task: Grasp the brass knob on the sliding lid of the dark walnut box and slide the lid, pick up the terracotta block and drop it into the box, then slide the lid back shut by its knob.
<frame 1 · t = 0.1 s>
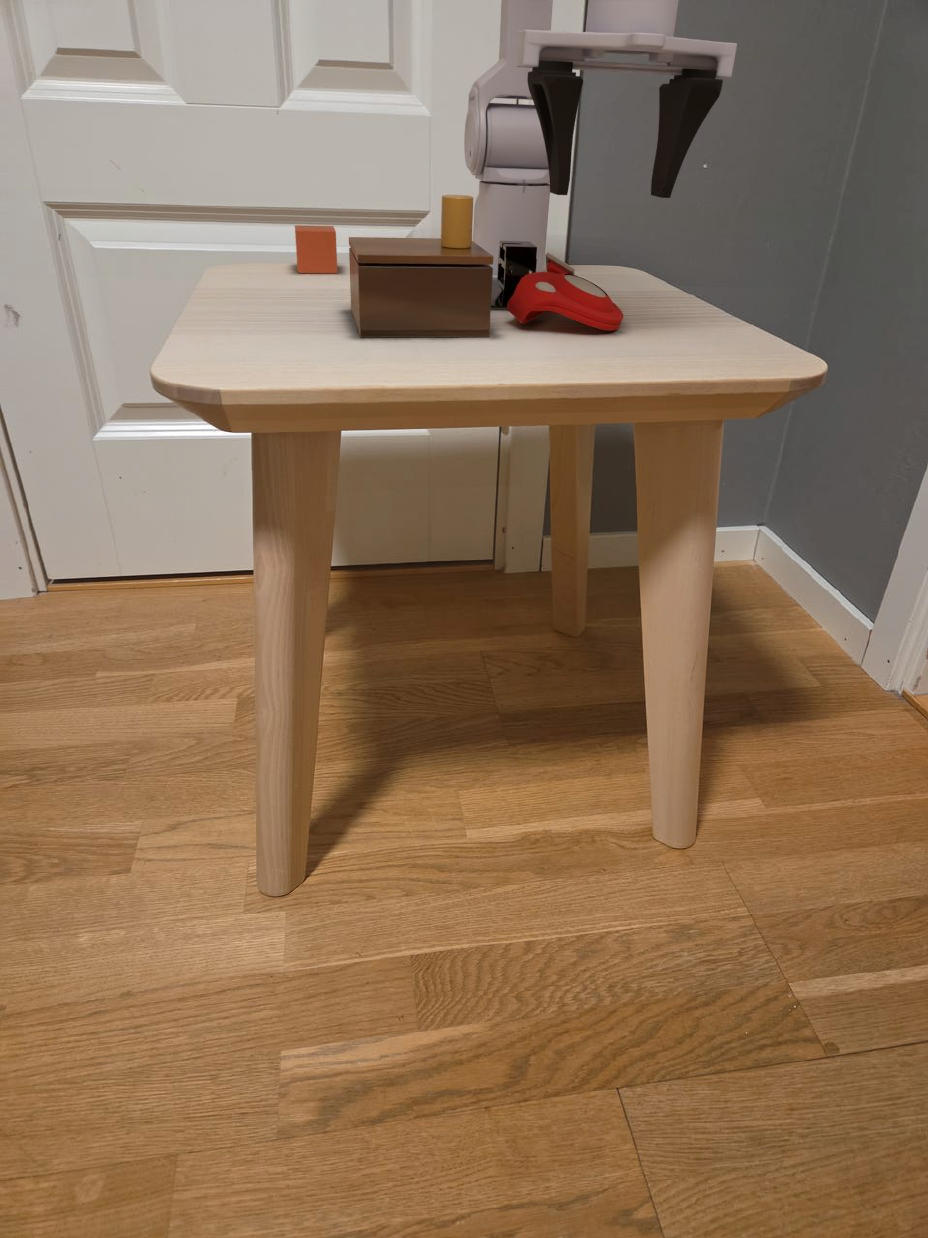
hand: (610, 195, 58), 10 cm above the table, tool pointing down, fingers open, 7 cm apart
terracotta block: (317, 269, 86), on the table
black rack: (514, 297, 78), on the table, touching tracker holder
slide lid: (418, 225, 62), point 7 cm above the table, slide at 0.0 cm
walnut box: (417, 323, 66), on the table
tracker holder: (566, 318, 70), on the table, touching black rack
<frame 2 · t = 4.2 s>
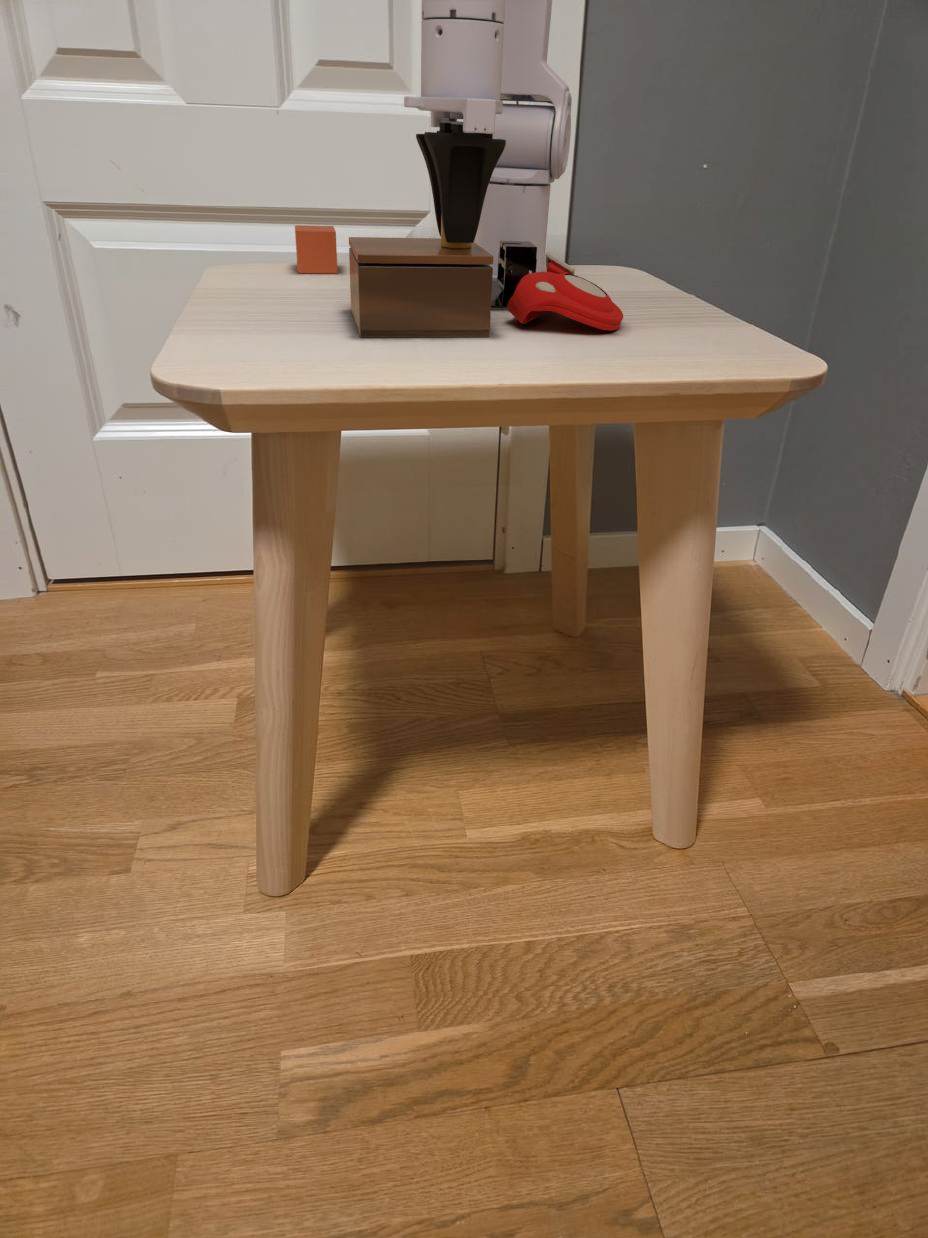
hand: (456, 239, 63), 6 cm above the table, tool pointing down, fingers closed on slide lid, 2 cm apart
slide lid: (418, 225, 62), point 7 cm above the table, slide at 0.0 cm, touching gripper
everything else where it was.
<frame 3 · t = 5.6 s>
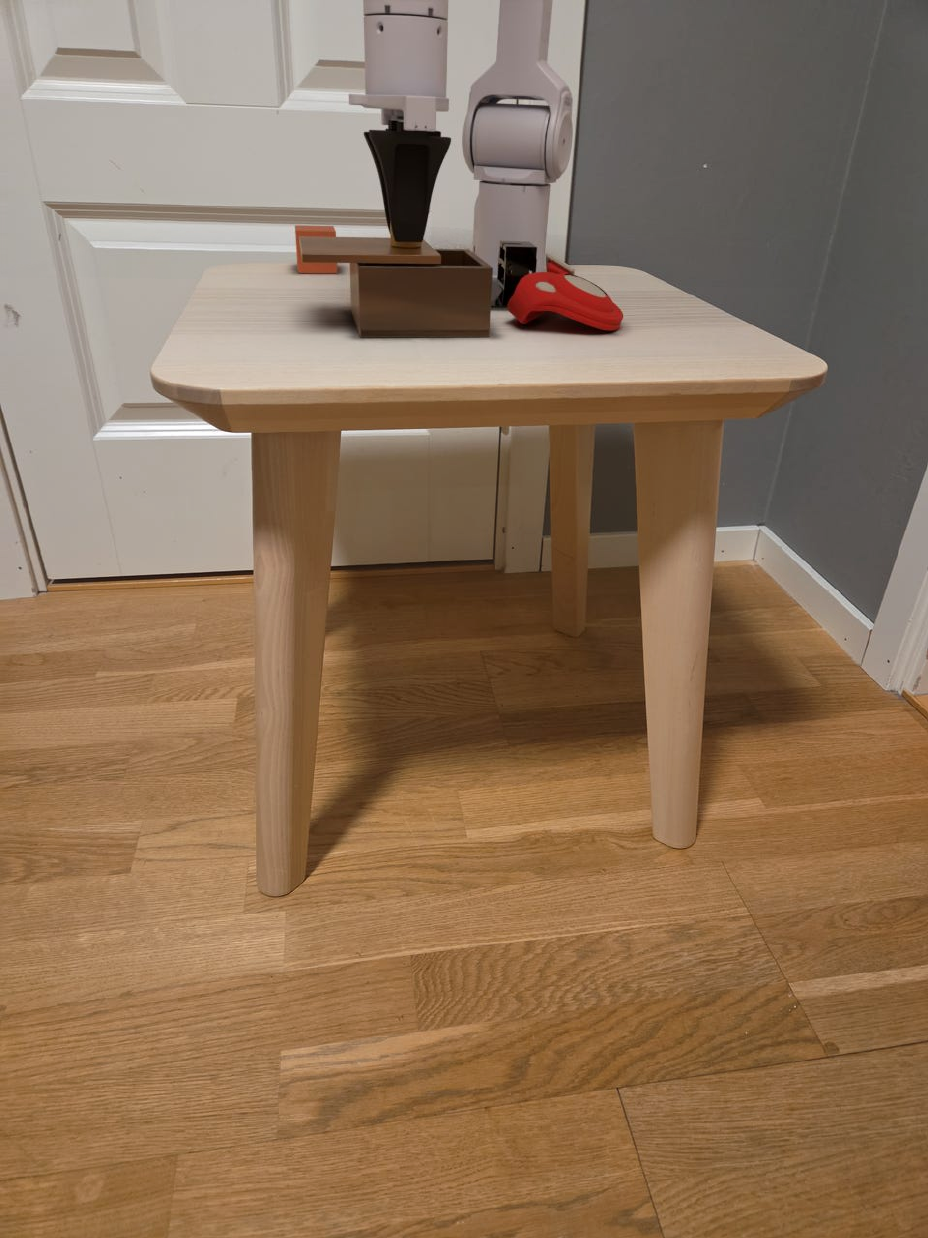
hand: (405, 238, 63), 6 cm above the table, tool pointing down, fingers closed on slide lid, 2 cm apart
slide lid: (366, 224, 62), point 7 cm above the table, slide at 3.9 cm, touching gripper
everything else where it was.
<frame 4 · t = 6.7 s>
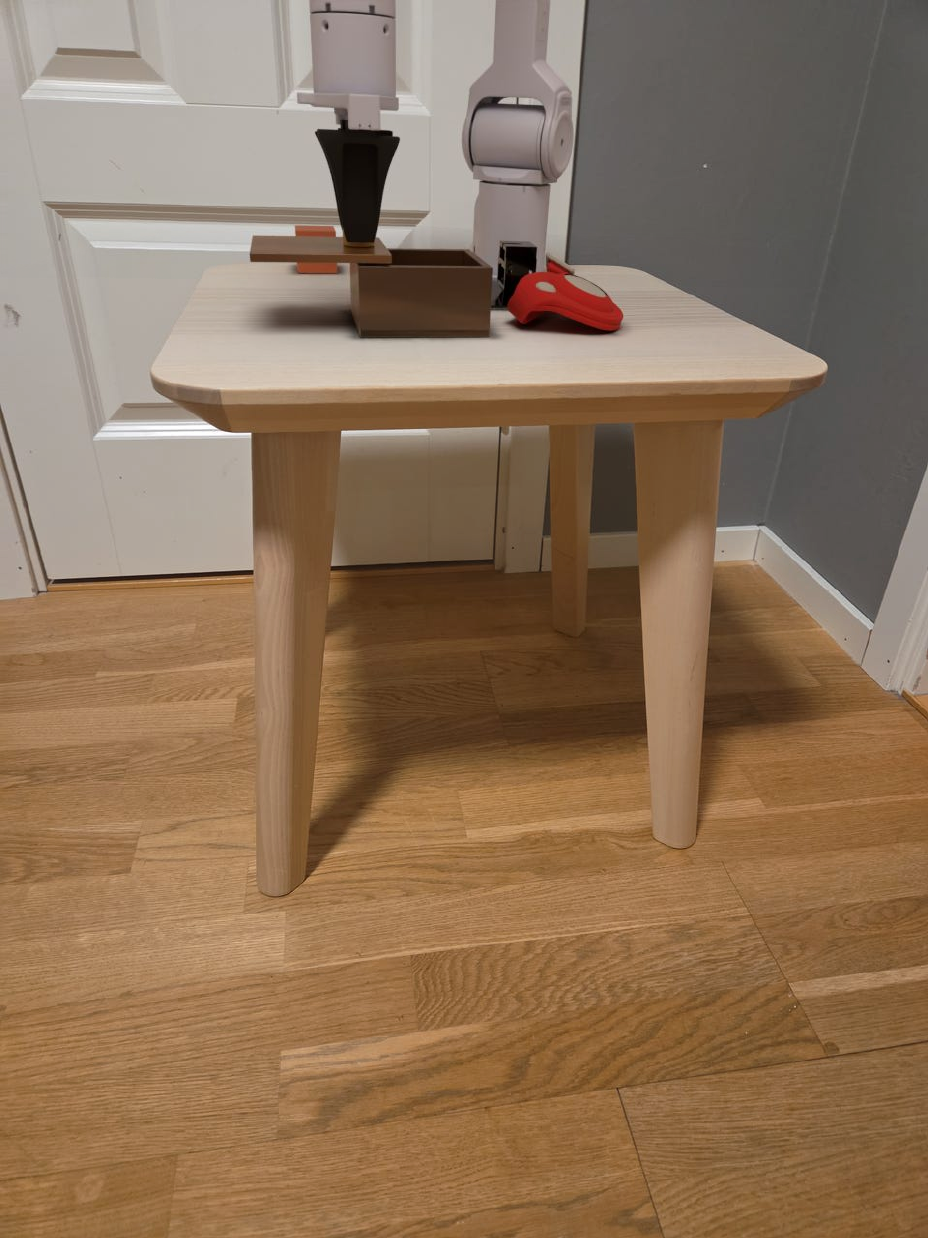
hand: (358, 238, 62), 6 cm above the table, tool pointing down, fingers closed on slide lid, 2 cm apart
slide lid: (318, 223, 61), point 7 cm above the table, slide at 7.5 cm, touching gripper
everything else where it was.
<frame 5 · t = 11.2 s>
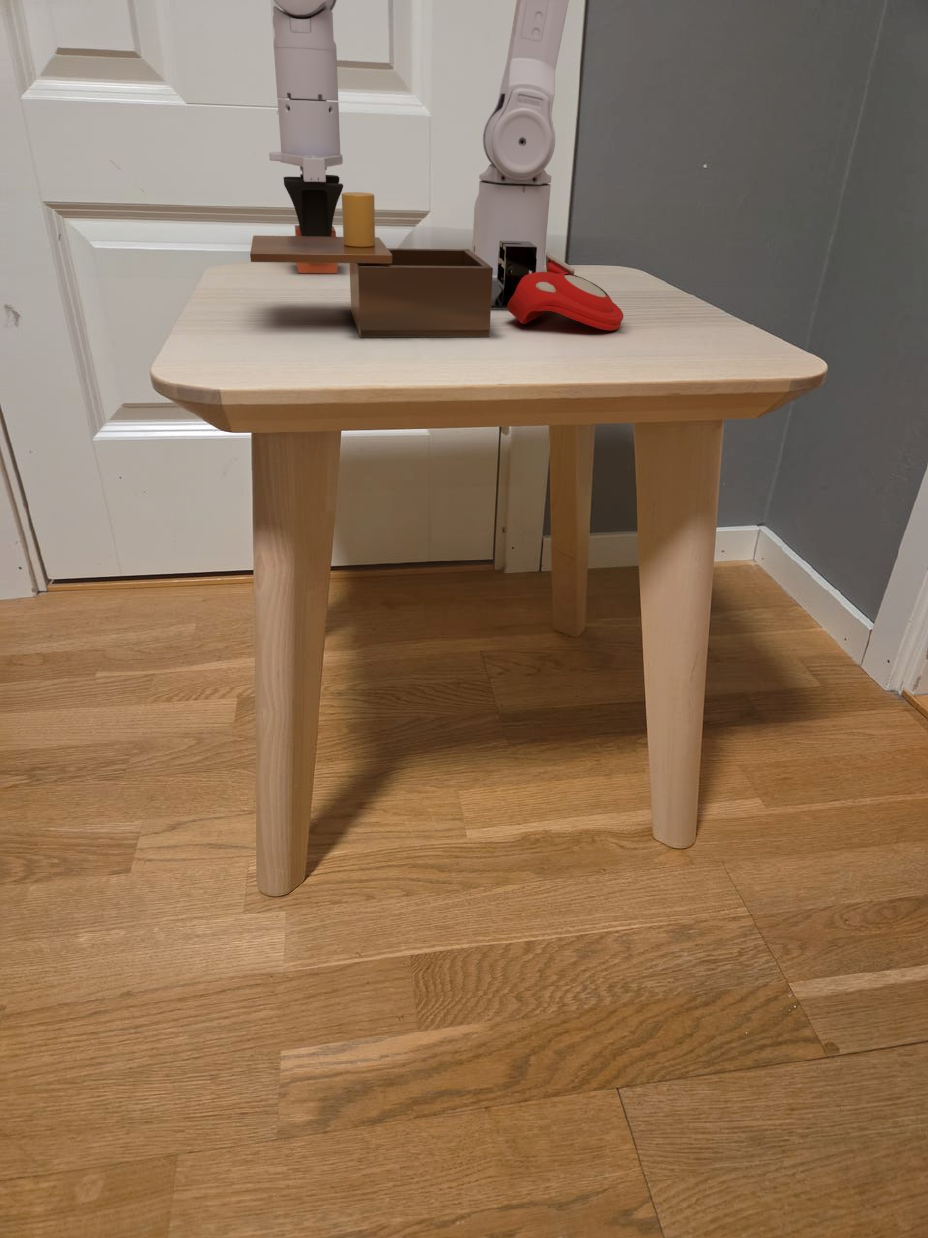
hand: (316, 255, 85), 1 cm above the table, tool pointing down, fingers closed on terracotta block, 4 cm apart
terracotta block: (317, 269, 86), on the table, touching gripper
slide lid: (318, 223, 61), point 7 cm above the table, slide at 7.5 cm
everything else where it was.
when the fingers open (4 cm above the table, at t = 16.5 s): terracotta block stays where it is, resting on walnut box.
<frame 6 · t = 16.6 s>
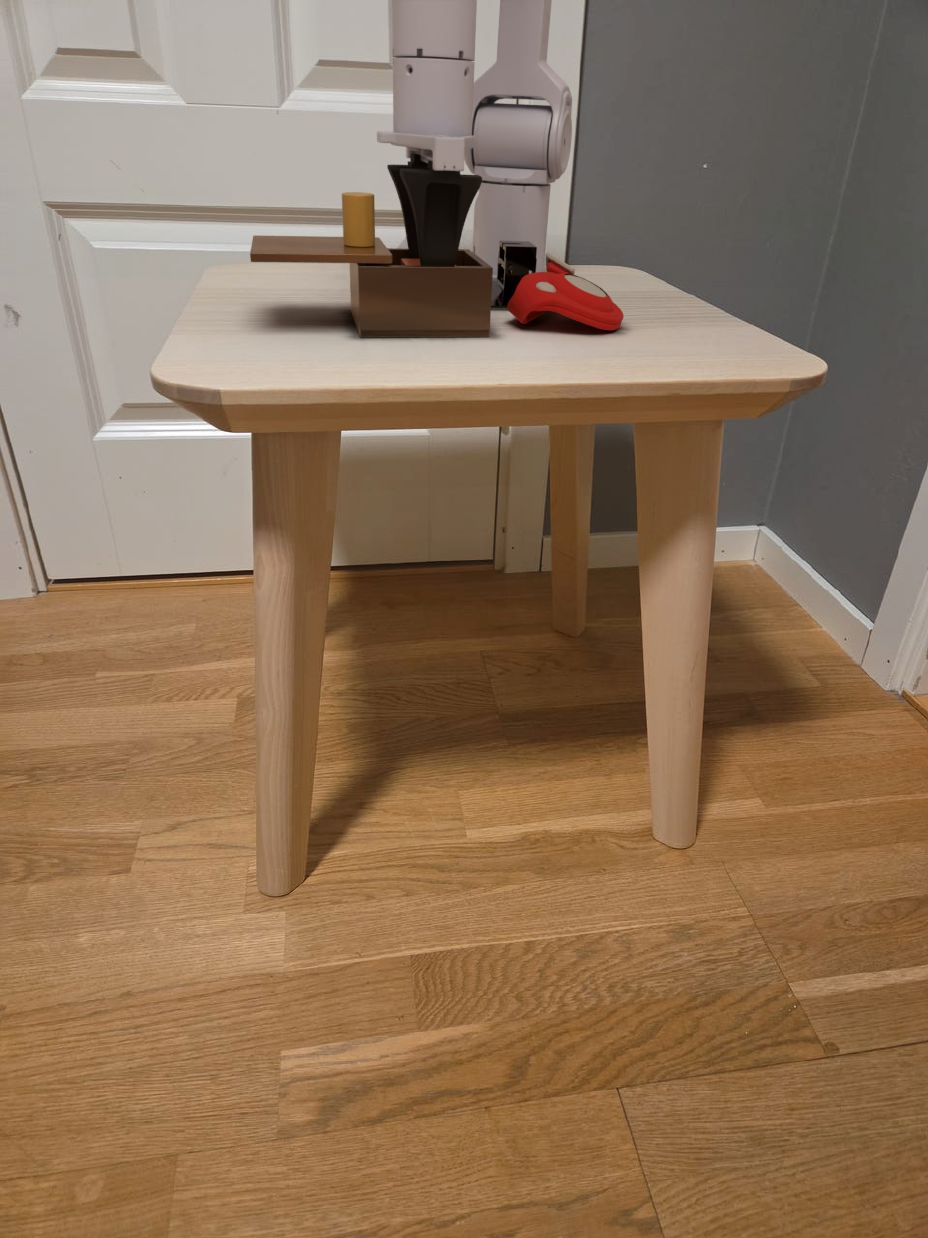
hand: (430, 269, 64), 4 cm above the table, tool pointing down, fingers open, 6 cm apart
terracotta block: (428, 315, 66), point 1 cm above the table, touching walnut box
everything else where it was.
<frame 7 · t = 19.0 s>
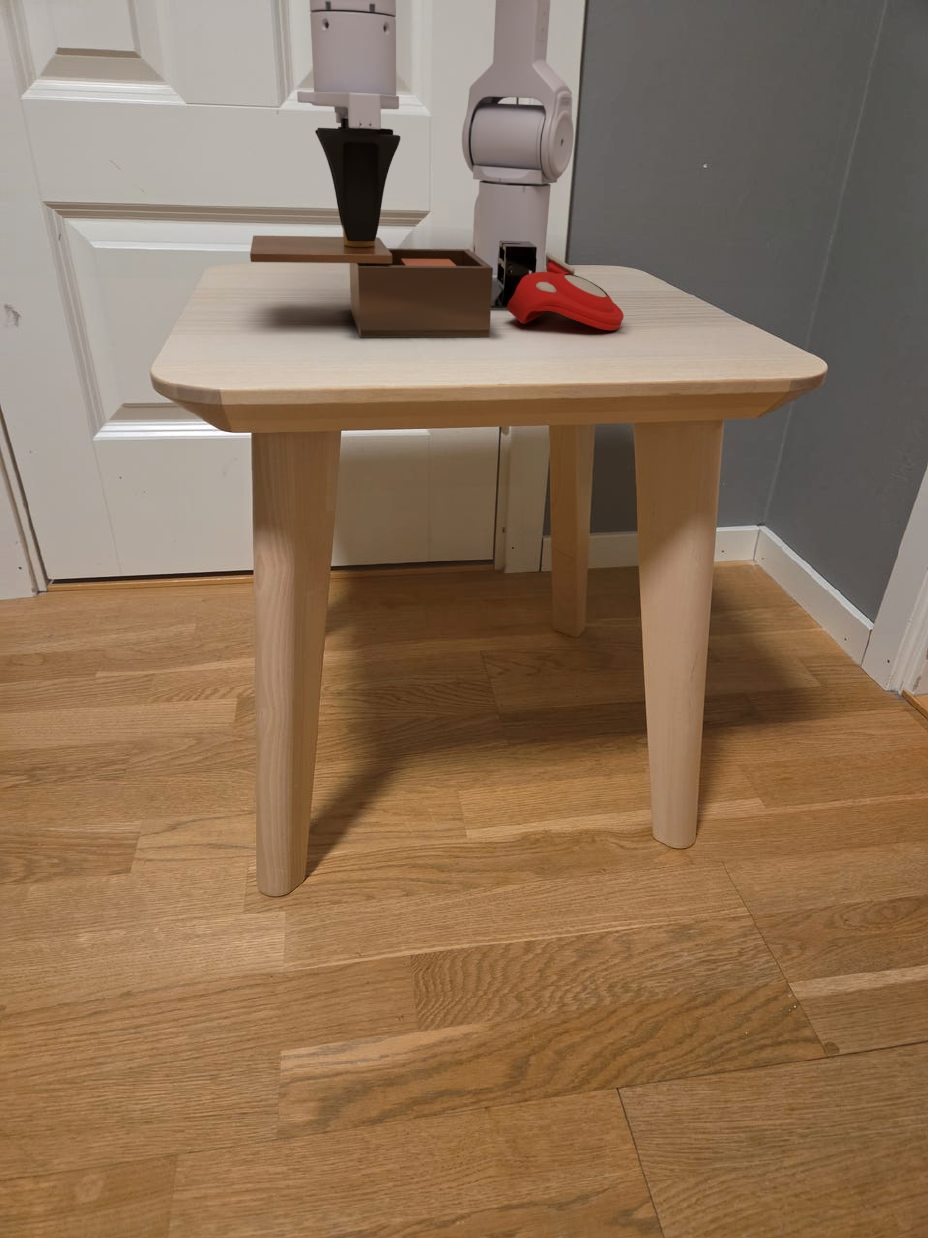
hand: (359, 237, 62), 6 cm above the table, tool pointing down, fingers closed on slide lid, 2 cm apart
slide lid: (318, 223, 61), point 7 cm above the table, slide at 7.5 cm, touching gripper
everything else where it was.
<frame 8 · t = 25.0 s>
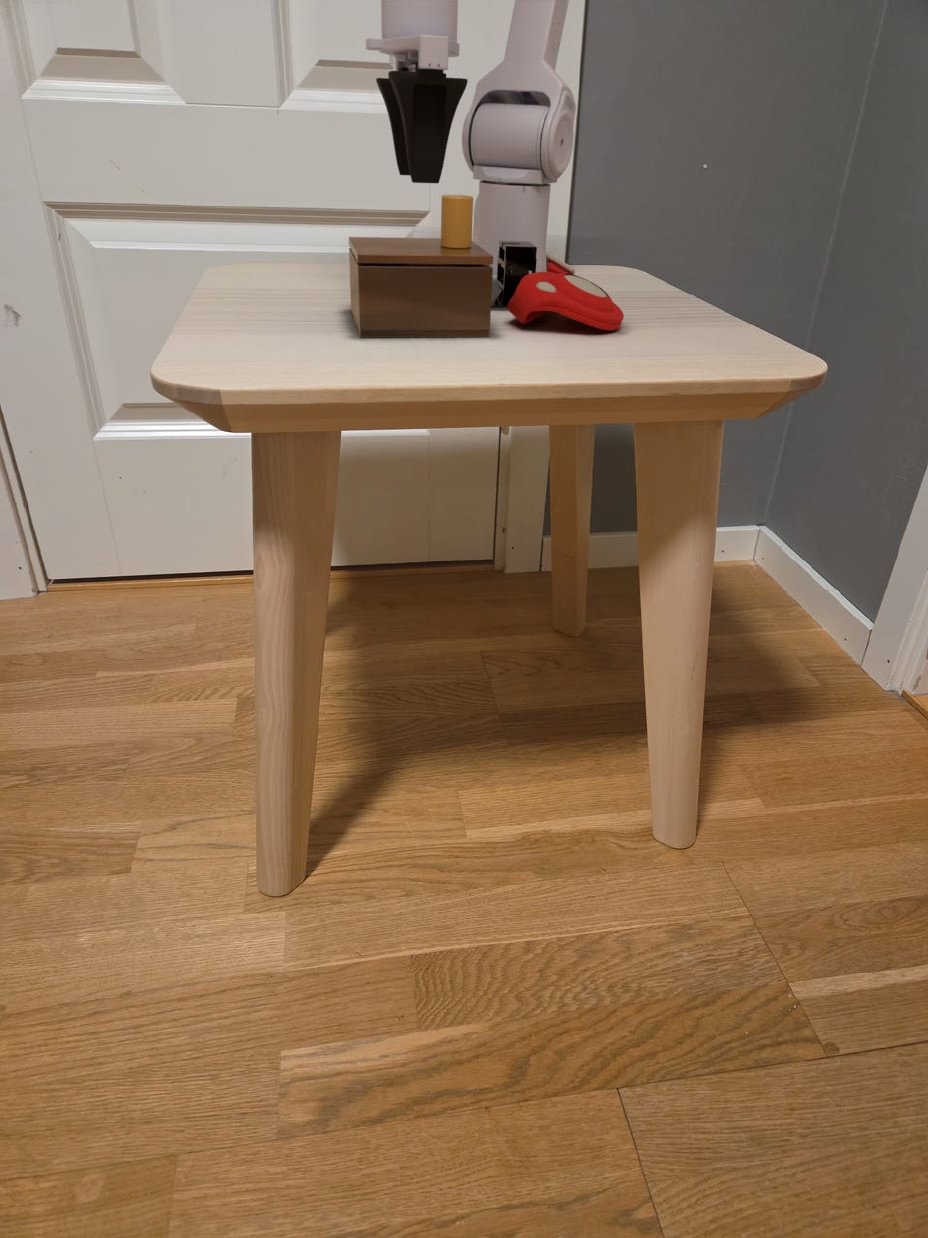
hand: (418, 178, 67), 10 cm above the table, tool pointing down, fingers open, 7 cm apart
slide lid: (417, 225, 62), point 7 cm above the table, slide at 0.0 cm
everything else where it was.
at the end: slide lid pulled out 7.5 cm at the most during the clip, back to where it started at the end; terracotta block inside the target area on the walnut box (0.9 cm from its centre), point 0.6 cm above the walnut box's base; slide lid slide at 0.0 cm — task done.
